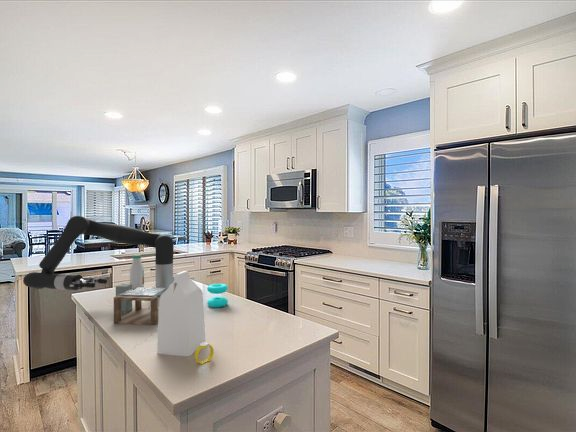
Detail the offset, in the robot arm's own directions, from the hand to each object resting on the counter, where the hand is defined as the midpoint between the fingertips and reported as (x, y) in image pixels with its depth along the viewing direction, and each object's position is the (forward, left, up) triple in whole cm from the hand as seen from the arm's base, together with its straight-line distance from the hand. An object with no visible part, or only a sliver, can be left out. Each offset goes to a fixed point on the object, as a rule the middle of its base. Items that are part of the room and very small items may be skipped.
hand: (100, 283), depth 153 cm
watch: (-14, +80, -13) cm, 82 cm away
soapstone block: (-8, +8, -13) cm, 17 cm away
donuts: (-46, +28, -13) cm, 56 cm away
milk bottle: (-25, -34, -13) cm, 44 cm away
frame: (-13, +24, -13) cm, 30 cm away
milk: (-13, +65, -13) cm, 68 cm away
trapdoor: (-12, +23, -4) cm, 26 cm away
